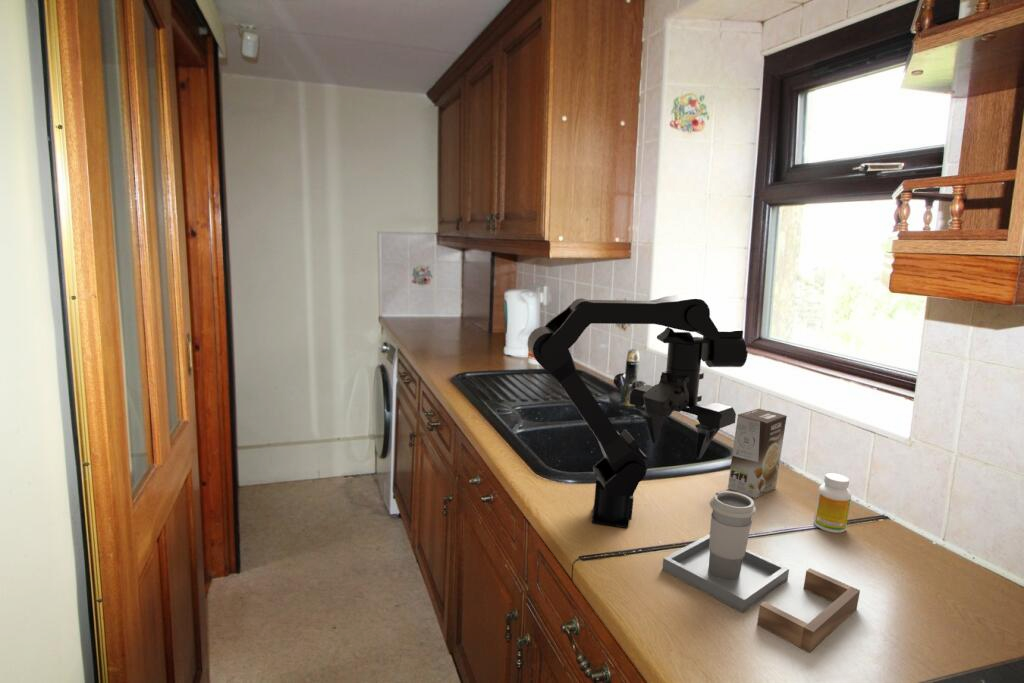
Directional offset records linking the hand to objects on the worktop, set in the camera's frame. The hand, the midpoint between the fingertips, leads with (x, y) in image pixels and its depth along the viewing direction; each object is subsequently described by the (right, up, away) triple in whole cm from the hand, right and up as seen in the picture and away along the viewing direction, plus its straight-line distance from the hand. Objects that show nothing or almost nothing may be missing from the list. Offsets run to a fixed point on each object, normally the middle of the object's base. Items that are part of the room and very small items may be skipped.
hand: (676, 451), depth 114 cm
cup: (+3, -16, -16) cm, 23 cm away
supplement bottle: (+29, -15, +3) cm, 33 cm away
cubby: (+12, -19, -25) cm, 34 cm away
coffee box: (+20, -11, +18) cm, 29 cm away
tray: (+3, -17, -16) cm, 23 cm away
